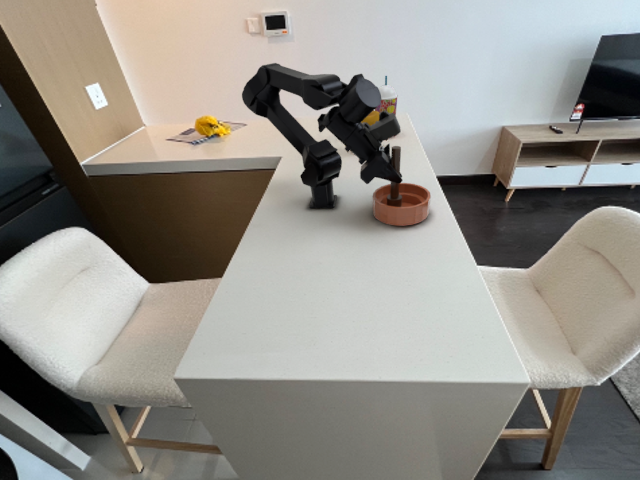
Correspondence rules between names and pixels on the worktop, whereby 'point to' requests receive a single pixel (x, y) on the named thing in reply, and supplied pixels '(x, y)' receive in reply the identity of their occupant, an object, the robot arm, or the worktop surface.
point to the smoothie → (387, 99)
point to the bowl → (411, 209)
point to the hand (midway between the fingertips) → (400, 179)
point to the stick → (394, 195)
